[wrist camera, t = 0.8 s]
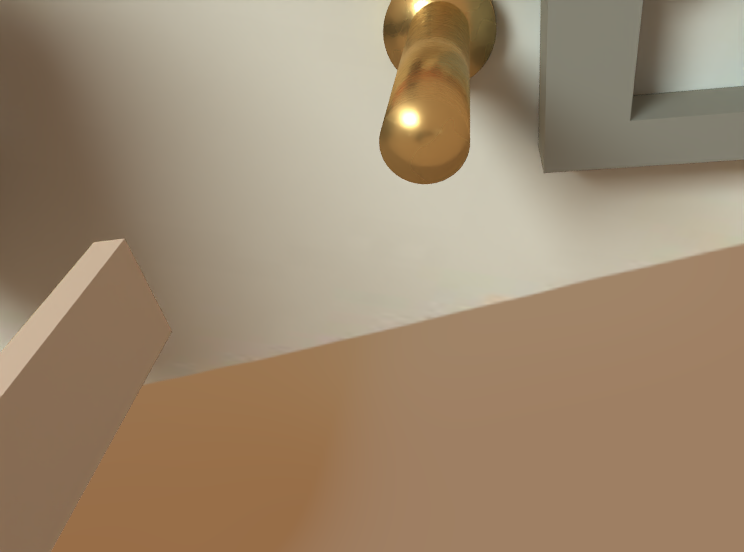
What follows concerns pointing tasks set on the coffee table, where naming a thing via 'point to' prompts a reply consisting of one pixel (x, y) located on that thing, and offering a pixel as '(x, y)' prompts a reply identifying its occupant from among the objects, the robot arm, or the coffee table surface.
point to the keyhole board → (621, 97)
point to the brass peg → (433, 83)
